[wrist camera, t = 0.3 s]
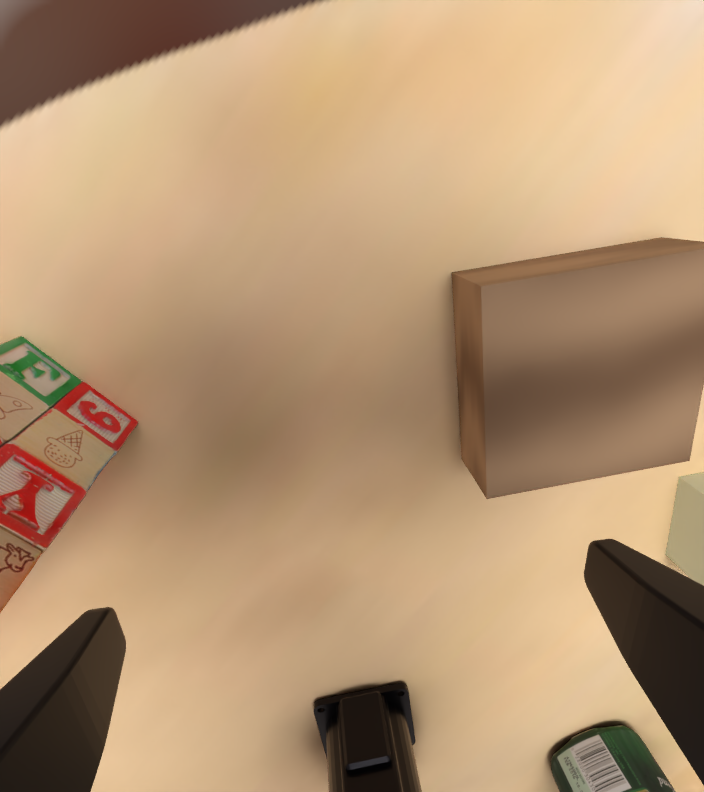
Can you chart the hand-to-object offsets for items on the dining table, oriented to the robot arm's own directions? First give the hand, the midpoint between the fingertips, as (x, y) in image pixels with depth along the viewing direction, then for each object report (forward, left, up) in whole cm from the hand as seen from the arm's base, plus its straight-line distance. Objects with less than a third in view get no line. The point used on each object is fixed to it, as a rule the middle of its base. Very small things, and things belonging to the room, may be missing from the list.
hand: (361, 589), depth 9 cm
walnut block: (-2, -11, -15) cm, 19 cm away
